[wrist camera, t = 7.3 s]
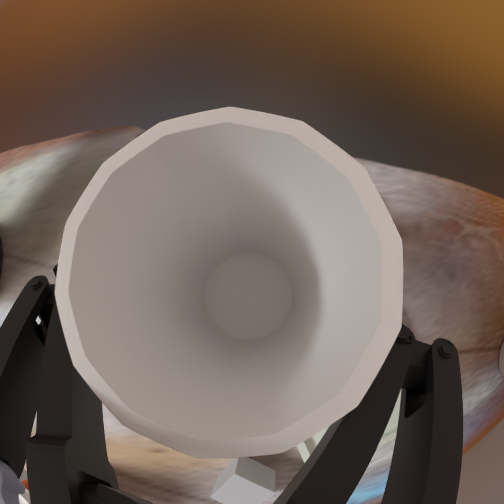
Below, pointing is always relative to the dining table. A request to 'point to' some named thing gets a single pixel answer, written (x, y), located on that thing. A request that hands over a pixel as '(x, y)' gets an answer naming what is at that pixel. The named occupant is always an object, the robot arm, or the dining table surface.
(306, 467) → the robot arm
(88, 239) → the foam cup
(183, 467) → the dining table surface
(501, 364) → the coffee cup
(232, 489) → the grey painted block
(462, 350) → the dining table surface
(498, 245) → the dining table surface
